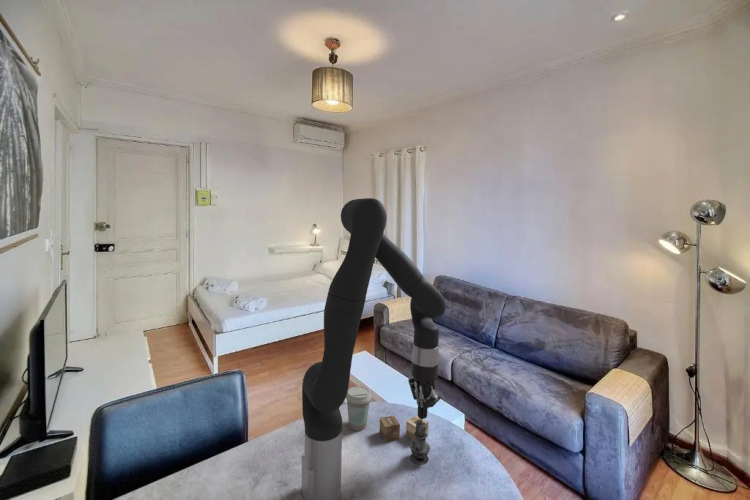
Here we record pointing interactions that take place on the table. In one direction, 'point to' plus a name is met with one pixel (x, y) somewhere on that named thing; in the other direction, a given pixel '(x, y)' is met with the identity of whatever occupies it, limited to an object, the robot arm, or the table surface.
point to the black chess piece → (420, 445)
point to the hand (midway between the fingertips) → (422, 417)
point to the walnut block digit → (389, 428)
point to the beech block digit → (414, 427)
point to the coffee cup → (358, 407)
